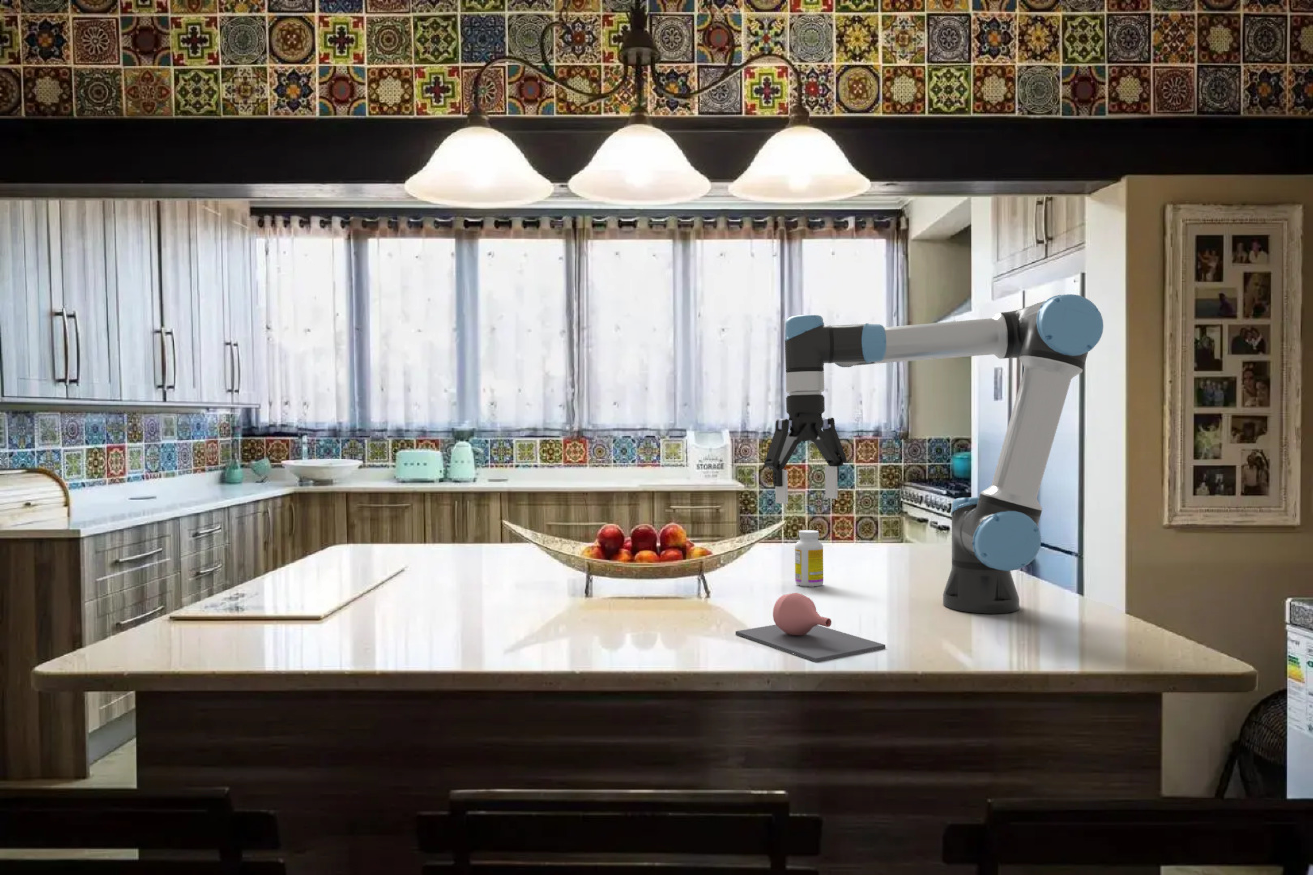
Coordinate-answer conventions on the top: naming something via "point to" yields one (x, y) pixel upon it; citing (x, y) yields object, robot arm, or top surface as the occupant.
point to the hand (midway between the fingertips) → (807, 501)
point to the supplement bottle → (809, 559)
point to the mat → (812, 642)
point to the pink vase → (797, 614)
